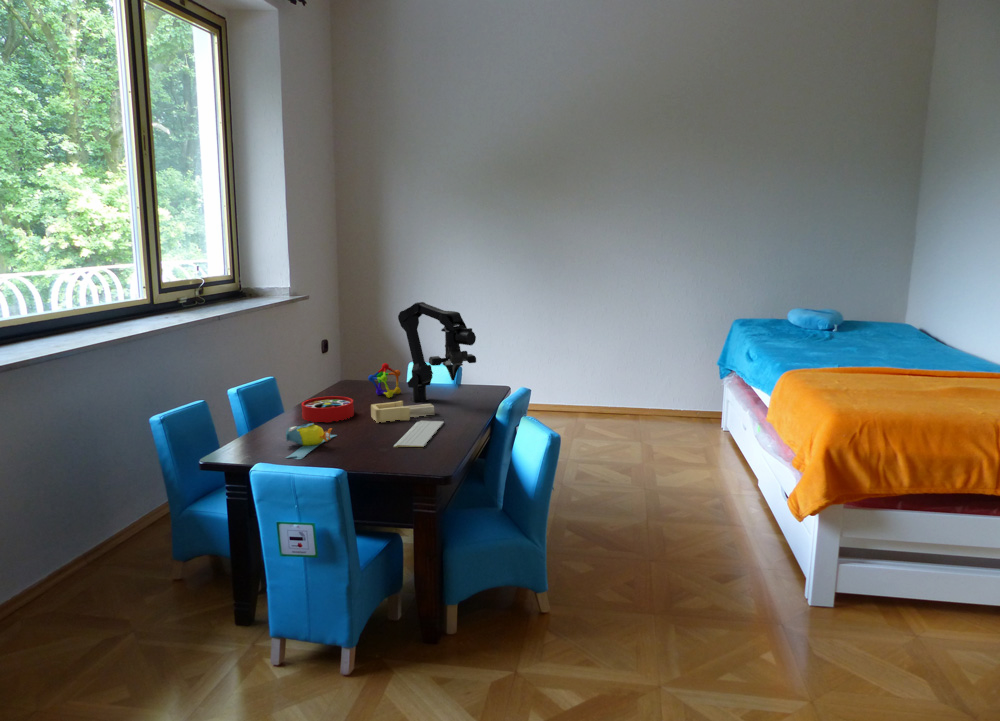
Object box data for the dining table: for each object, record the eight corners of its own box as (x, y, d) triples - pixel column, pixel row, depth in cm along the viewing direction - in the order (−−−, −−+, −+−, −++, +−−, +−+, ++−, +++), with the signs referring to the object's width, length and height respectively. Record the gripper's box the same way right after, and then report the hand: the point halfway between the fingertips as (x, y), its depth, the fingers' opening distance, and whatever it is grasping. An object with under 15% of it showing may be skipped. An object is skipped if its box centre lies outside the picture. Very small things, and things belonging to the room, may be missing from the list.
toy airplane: (309, 435, 227) (266, 434, 230) (311, 461, 229) (268, 459, 232) (345, 413, 254) (306, 412, 257) (347, 436, 256) (308, 435, 259)
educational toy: (375, 394, 324) (375, 361, 323) (402, 394, 323) (402, 361, 322) (364, 398, 309) (364, 364, 308) (393, 399, 308) (393, 365, 306)
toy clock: (314, 395, 294) (360, 397, 290) (315, 409, 295) (361, 411, 291) (292, 407, 275) (341, 409, 271) (293, 422, 276) (342, 424, 272)
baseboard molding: (389, 448, 242) (423, 450, 240) (388, 440, 241) (423, 442, 239) (413, 424, 272) (444, 425, 270) (413, 416, 271) (443, 417, 270)
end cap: (370, 416, 282) (369, 403, 281) (402, 412, 287) (402, 400, 286) (377, 423, 271) (376, 411, 270) (410, 420, 275) (410, 407, 274)
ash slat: (376, 418, 279) (376, 409, 279) (431, 413, 287) (430, 403, 286) (379, 422, 275) (378, 412, 274) (434, 416, 282) (434, 406, 282)
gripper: (435, 347, 280) (435, 386, 283) (480, 344, 286) (480, 382, 289) (428, 343, 290) (429, 380, 293) (471, 340, 296) (472, 377, 299)
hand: (452, 380), depth 293 cm, fingers closed
